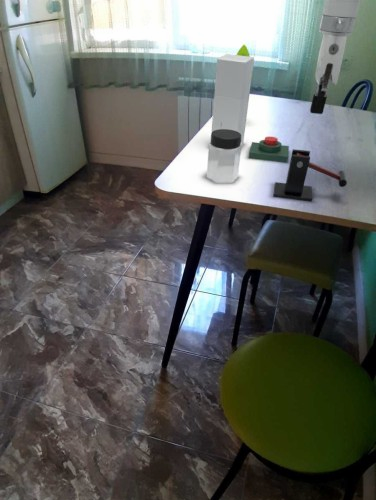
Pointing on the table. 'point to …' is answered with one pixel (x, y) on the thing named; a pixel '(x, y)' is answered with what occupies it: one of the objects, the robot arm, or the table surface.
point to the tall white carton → (232, 93)
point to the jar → (224, 156)
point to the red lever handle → (329, 173)
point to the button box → (269, 152)
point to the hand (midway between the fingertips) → (316, 112)
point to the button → (270, 141)
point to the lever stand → (295, 179)
